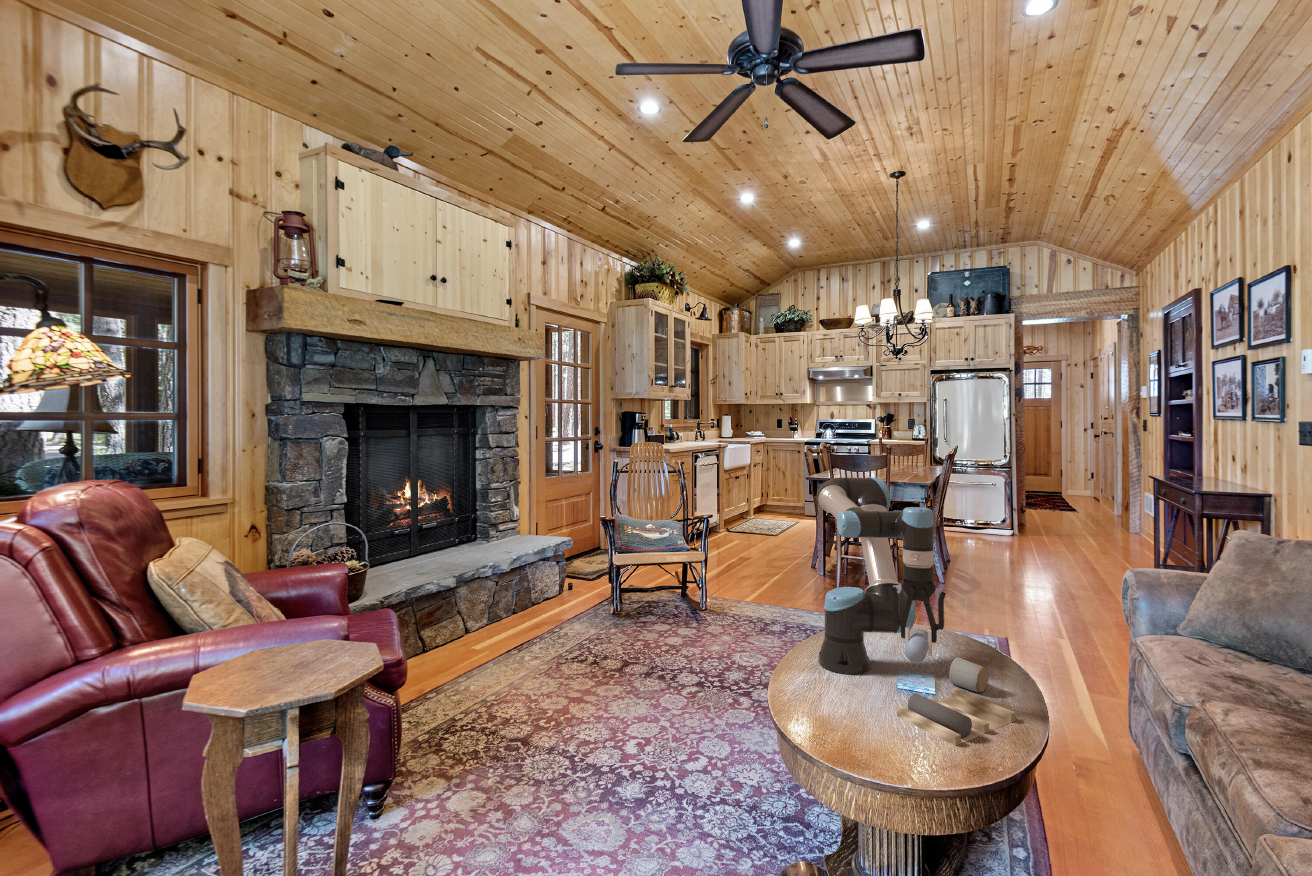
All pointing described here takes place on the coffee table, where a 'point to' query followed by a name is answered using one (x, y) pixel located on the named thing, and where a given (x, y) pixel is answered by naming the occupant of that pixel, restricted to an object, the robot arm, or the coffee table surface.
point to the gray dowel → (917, 646)
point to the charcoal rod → (940, 714)
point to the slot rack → (967, 704)
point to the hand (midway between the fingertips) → (918, 652)
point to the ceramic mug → (968, 675)
